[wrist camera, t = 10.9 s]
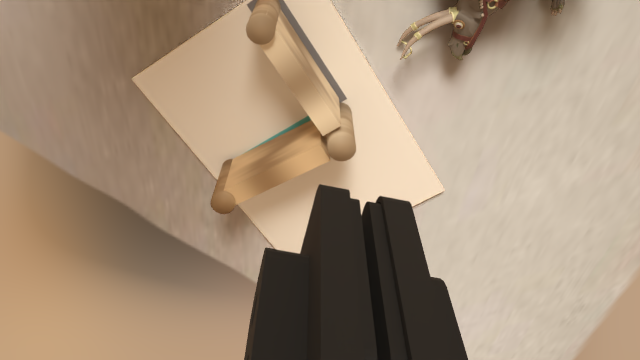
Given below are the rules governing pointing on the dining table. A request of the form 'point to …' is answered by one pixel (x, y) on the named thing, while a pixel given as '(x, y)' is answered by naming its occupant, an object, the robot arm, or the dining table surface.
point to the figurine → (462, 23)
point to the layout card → (286, 115)
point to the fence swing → (269, 166)
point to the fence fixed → (303, 77)
